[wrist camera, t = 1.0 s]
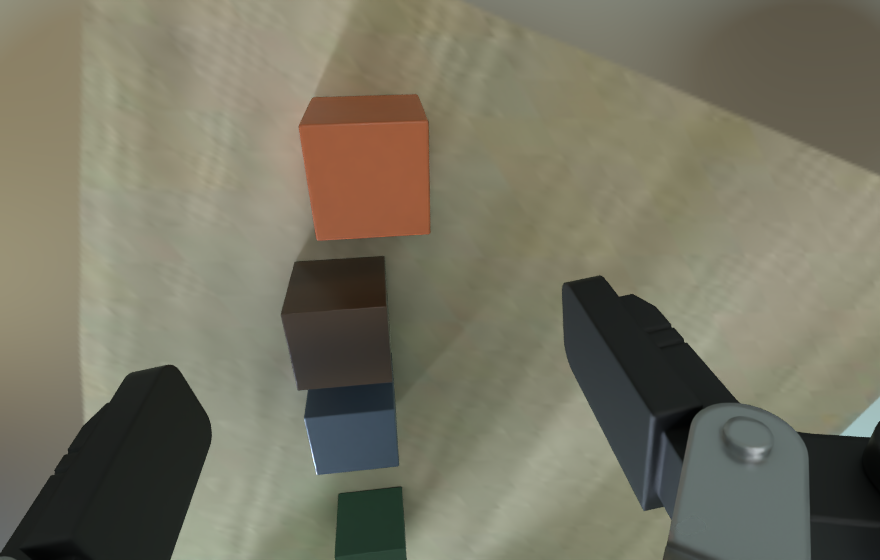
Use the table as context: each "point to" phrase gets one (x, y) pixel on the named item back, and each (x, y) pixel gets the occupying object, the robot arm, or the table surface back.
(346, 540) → the block
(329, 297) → the block
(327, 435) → the block
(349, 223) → the block
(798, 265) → the table surface
